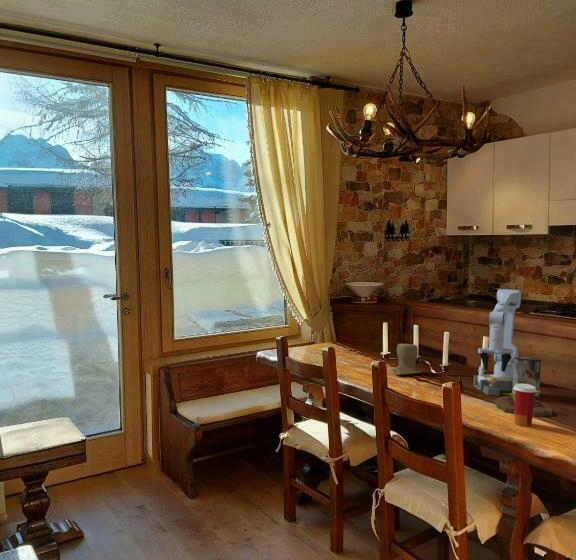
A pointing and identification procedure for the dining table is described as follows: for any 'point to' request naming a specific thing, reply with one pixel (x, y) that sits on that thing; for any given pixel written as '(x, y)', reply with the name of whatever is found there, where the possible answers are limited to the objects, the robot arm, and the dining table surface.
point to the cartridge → (484, 376)
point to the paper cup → (524, 404)
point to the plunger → (492, 381)
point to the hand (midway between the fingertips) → (494, 370)
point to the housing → (498, 386)
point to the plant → (508, 405)
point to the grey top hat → (406, 360)
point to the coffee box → (527, 371)
